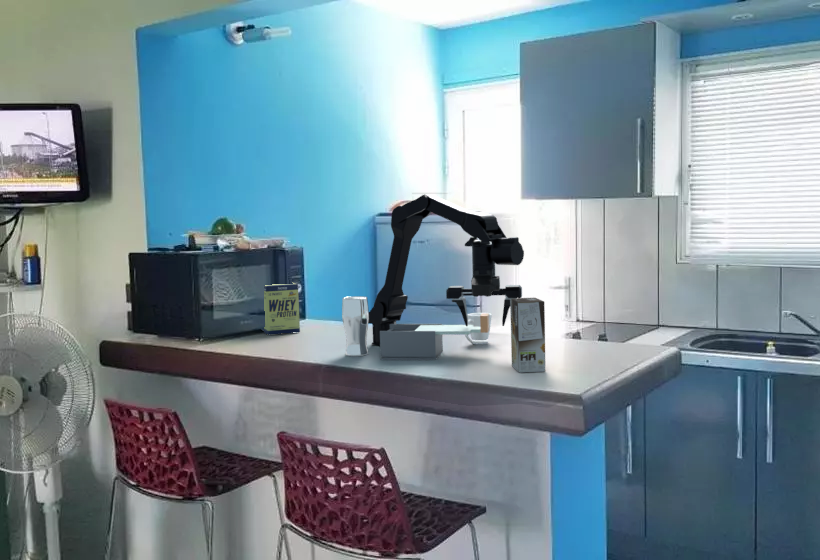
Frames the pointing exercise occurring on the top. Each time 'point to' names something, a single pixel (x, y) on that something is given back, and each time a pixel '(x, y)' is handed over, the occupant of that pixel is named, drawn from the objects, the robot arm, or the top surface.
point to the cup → (475, 320)
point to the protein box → (281, 308)
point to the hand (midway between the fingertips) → (485, 325)
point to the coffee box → (528, 334)
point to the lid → (458, 327)
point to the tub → (410, 343)
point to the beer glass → (355, 324)
